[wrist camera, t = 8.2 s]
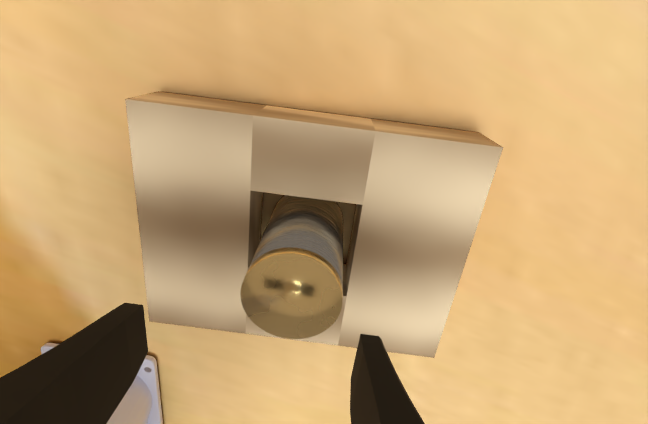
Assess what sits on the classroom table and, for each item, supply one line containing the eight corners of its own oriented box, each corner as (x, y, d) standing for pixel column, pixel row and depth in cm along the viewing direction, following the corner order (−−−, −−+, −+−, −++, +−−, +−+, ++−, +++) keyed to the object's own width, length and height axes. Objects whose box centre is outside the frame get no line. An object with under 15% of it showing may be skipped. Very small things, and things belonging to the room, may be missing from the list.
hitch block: (423, 320, 23) (434, 357, 20) (172, 288, 23) (149, 321, 20) (478, 132, 18) (503, 147, 15) (158, 91, 18) (125, 99, 15)
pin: (339, 255, 21) (337, 343, 15) (271, 248, 21) (240, 333, 15) (346, 192, 20) (348, 261, 13) (273, 185, 20) (239, 250, 13)
